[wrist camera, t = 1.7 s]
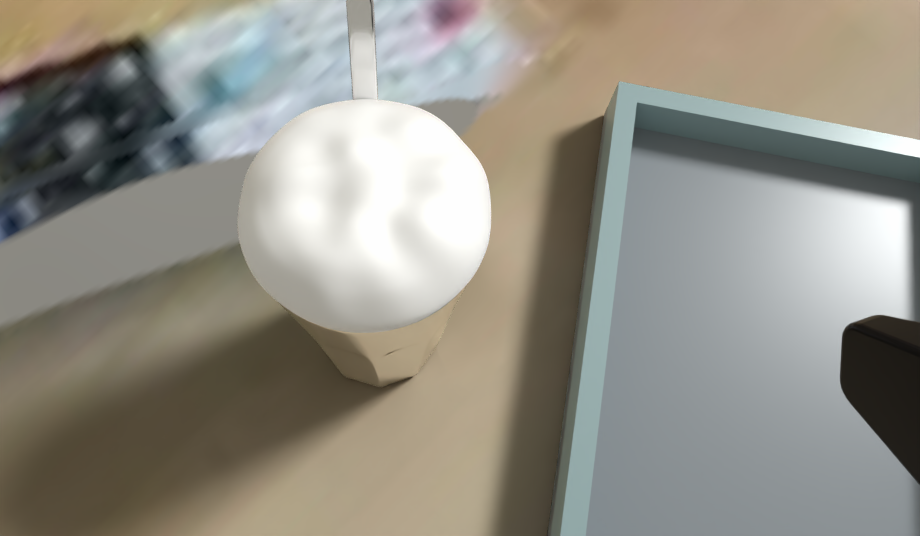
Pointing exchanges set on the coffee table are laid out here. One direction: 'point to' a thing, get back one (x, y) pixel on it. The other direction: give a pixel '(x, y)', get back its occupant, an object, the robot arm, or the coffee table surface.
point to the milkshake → (366, 222)
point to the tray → (734, 325)
